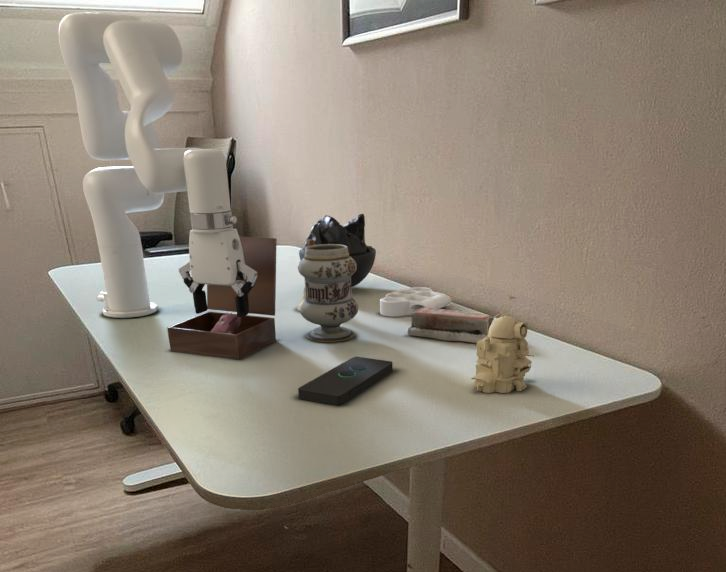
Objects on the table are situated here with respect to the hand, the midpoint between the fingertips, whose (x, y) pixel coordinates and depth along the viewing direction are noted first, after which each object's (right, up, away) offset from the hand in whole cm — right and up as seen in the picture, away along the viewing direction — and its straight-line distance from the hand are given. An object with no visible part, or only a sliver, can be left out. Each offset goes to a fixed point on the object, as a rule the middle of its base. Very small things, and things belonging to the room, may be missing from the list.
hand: (222, 313), depth 140 cm
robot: (+51, -17, -21) cm, 58 cm away
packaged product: (+47, -3, +8) cm, 48 cm away
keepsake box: (0, -6, +3) cm, 7 cm away
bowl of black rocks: (+21, +18, +49) cm, 57 cm away
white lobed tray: (+40, +8, +28) cm, 49 cm away
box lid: (+3, +9, +4) cm, 10 cm away
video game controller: (0, -5, +3) cm, 6 cm away
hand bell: (+16, +8, +30) cm, 35 cm away
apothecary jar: (+21, -3, +9) cm, 23 cm away
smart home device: (+25, -17, -18) cm, 35 cm away
